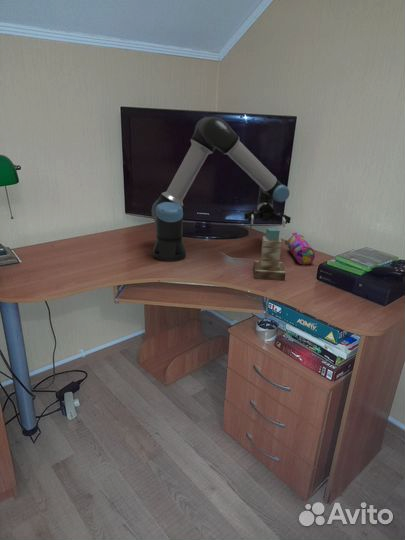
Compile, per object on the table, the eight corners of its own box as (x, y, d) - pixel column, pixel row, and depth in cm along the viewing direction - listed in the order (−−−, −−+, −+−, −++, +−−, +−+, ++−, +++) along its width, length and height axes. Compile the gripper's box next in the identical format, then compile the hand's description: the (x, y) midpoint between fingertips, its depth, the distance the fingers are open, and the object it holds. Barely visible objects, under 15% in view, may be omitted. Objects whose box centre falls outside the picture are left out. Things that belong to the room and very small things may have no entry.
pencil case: (283, 249, 190) (285, 232, 187) (302, 250, 190) (304, 232, 187) (294, 265, 170) (297, 246, 167) (315, 266, 170) (318, 246, 167)
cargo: (268, 240, 152) (269, 230, 151) (265, 237, 156) (266, 228, 154) (278, 240, 153) (279, 230, 151) (275, 237, 157) (276, 227, 155)
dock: (254, 278, 155) (255, 270, 154) (253, 267, 166) (254, 260, 165) (284, 280, 154) (285, 272, 153) (281, 269, 165) (282, 262, 164)
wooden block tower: (259, 269, 156) (262, 241, 152) (259, 263, 162) (261, 235, 158) (279, 270, 155) (283, 242, 151) (278, 264, 162) (281, 237, 157)
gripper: (291, 221, 184) (296, 233, 165) (238, 217, 186) (238, 228, 166) (293, 205, 181) (299, 216, 162) (240, 201, 183) (239, 211, 164)
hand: (268, 222), depth 164 cm, fingers open, 13 cm apart
